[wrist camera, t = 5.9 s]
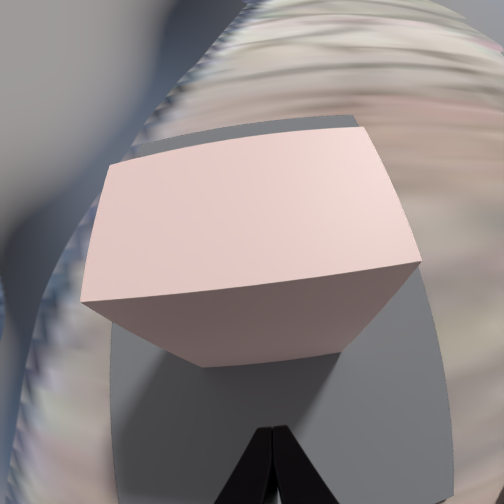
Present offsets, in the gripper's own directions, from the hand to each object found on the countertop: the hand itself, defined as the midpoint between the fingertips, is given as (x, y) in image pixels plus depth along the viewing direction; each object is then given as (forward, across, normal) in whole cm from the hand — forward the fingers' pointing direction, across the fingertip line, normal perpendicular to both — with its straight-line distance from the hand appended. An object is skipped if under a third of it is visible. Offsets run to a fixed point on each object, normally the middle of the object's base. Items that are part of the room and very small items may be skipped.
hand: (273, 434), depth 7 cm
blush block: (+8, 0, +1) cm, 8 cm away
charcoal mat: (+10, 0, 0) cm, 10 cm away
